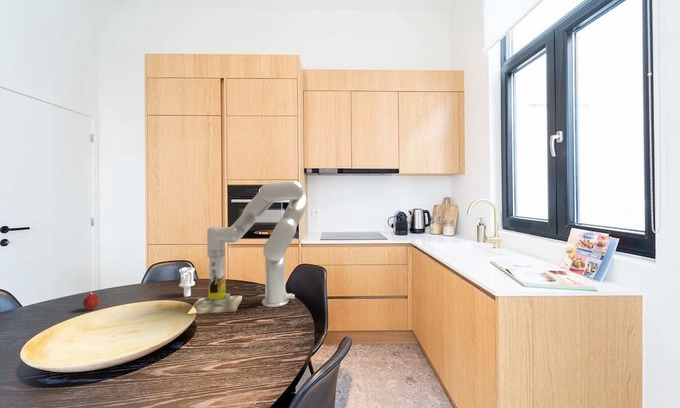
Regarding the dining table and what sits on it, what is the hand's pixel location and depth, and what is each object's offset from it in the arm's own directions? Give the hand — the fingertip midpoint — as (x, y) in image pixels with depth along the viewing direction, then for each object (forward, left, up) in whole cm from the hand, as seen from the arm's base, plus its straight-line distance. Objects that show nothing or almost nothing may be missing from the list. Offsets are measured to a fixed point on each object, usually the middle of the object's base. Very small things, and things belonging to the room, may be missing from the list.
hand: (216, 289), depth 133 cm
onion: (+55, -5, -8) cm, 56 cm away
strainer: (+19, -18, -8) cm, 27 cm away
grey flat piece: (0, 0, -8) cm, 8 cm away
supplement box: (0, 0, -7) cm, 7 cm away
